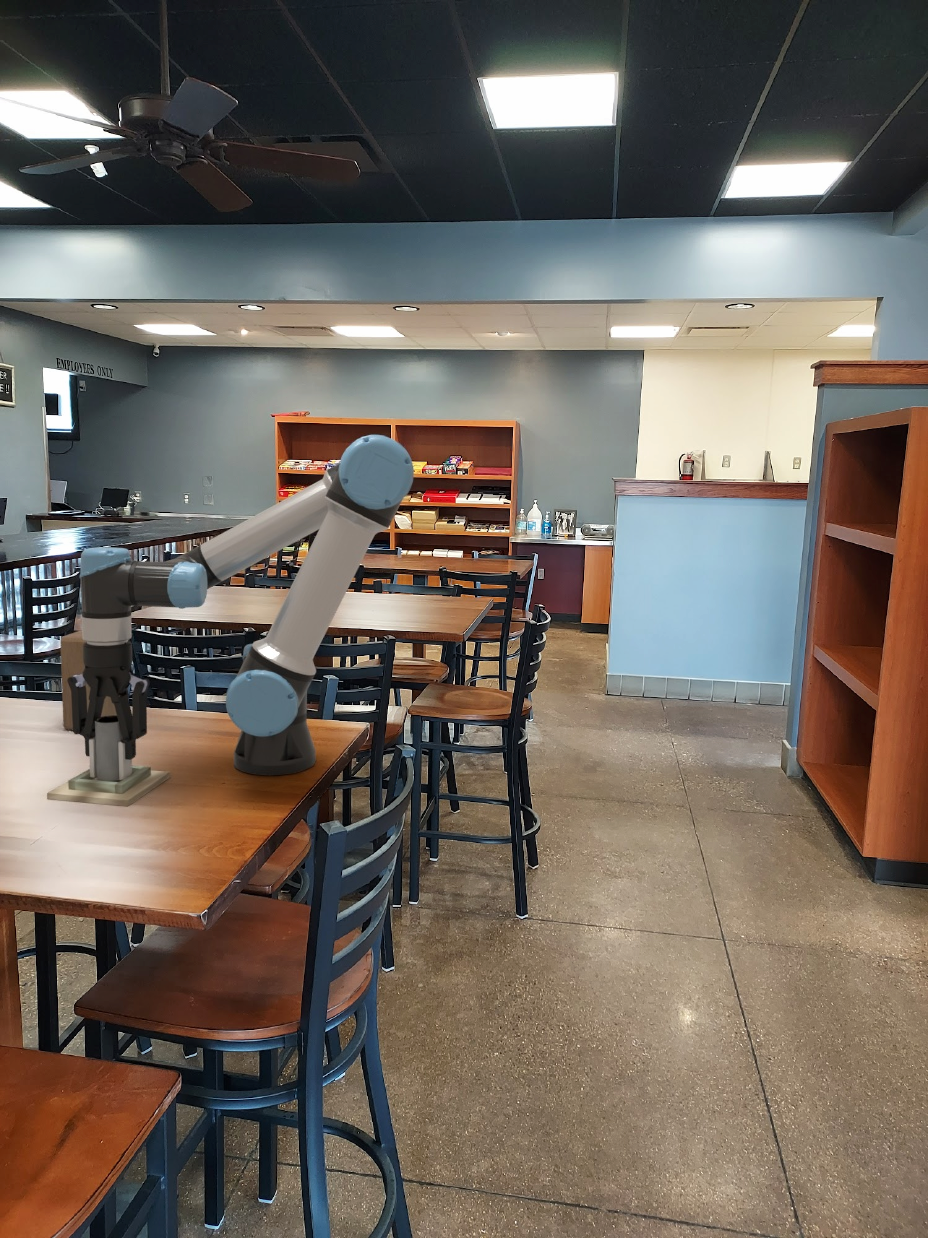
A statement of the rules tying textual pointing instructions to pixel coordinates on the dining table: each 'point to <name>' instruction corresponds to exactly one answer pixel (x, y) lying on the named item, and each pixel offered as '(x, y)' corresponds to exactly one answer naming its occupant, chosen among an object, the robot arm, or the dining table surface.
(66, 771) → the dining table surface
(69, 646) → the block
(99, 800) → the stand
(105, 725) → the grey hollow tube
